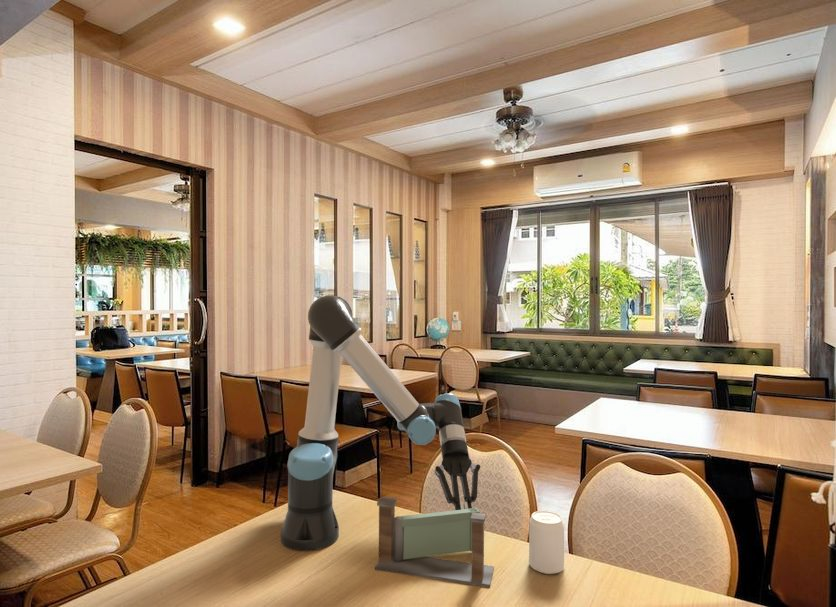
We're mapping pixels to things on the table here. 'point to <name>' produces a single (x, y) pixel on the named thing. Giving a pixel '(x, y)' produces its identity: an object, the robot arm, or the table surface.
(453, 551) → the gate
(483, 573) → the gate frame
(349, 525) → the table surface
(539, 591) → the table surface
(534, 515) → the white cylinder
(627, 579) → the table surface
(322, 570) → the table surface
